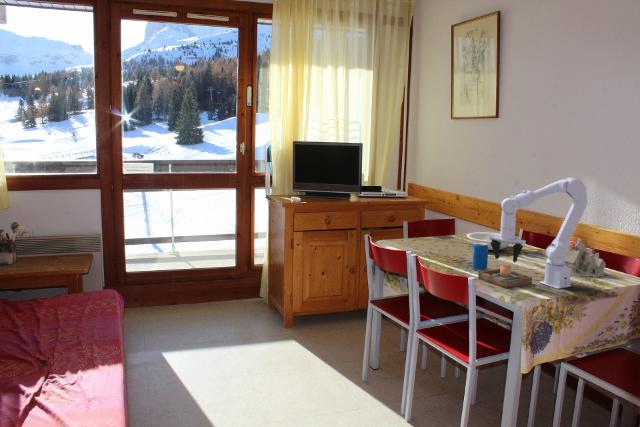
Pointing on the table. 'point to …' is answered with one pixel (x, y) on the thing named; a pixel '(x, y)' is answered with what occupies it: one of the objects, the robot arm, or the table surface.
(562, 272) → the robot arm
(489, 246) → the soup bowl
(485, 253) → the beverage can
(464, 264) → the table surface
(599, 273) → the ceramic cottage
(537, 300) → the table surface
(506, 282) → the walled tray
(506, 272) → the terracotta peg
